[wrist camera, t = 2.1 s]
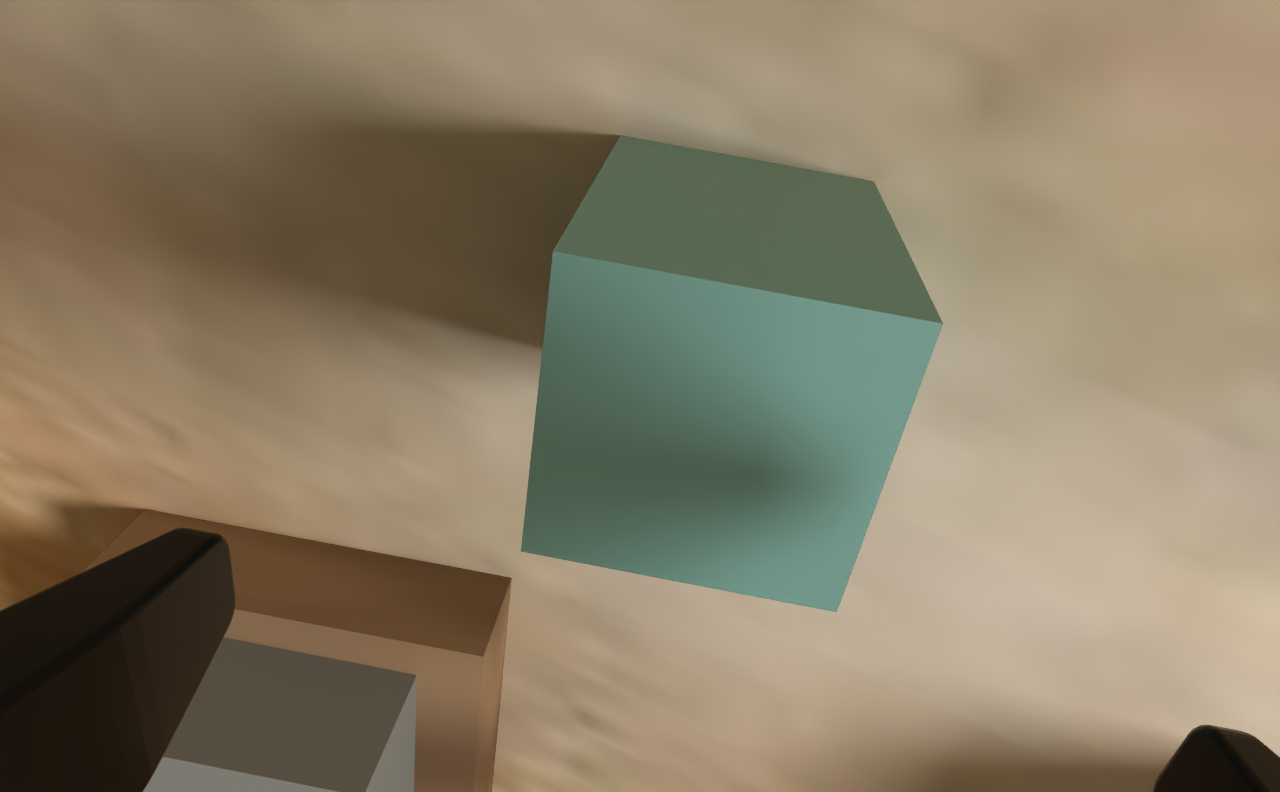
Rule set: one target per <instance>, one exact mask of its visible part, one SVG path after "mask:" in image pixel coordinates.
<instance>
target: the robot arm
mask: <svg viewBox="0 0 1280 792" xmlns="http://www.w3.org/2000/svg"><path fill="white" fill-rule="evenodd" d="M235 603H236V598H235V588H234V580H233V571H232V563H231V555H230V548H229V543H228V541H227V540H226V538H225V537H224V536H222V535H220V534H218V533H214V532H208V531H203V530H198V529H193V528H188V527H181V528H176V529H174V530H171V531H169V532H166V533H164V534H162V535H160V536H158V537H156V538H154V539H152V540H149V541H147V542H145V543H143V544H141V545H139V546H137V547H135V548H132V549H130V550H128V551H126V552H124V553H122V554H120V555H118V556H115V557H113V558H111V559H109V560H107V561H105V562H103V563H101V564H98V565H96V566H94V567H92V568H90V569H88V570H86V571H84V572H81V573H79V574H77V575H75V576H73V577H71V578H69V579H67V580H64V581H62V582H60V583H58V584H56V585H54V586H52V587H50V588H47V589H45V590H43V591H41V592H39V593H37V594H35V595H33V596H30V597H28V598H26V599H24V600H22V601H20V602H18V603H16V604H13V605H11V606H9V607H7V608H5V609H3V610H1V611H0V792H143V791H144V789H145V788H146V786H147V784H148V783H149V781H150V779H151V778H152V776H153V774H154V772H155V771H156V769H157V767H158V765H159V763H160V761H161V759H162V758H163V756H164V754H165V752H166V750H167V748H168V746H169V744H170V742H171V740H172V738H173V736H174V734H175V732H176V730H177V728H178V726H179V724H180V722H181V720H182V719H183V717H184V715H185V713H186V711H187V709H188V707H189V705H190V703H191V701H192V699H193V697H194V695H195V693H196V691H197V689H198V687H199V685H200V683H201V681H202V679H203V677H204V675H205V673H206V671H207V669H208V667H209V665H210V663H211V661H212V659H213V657H214V655H215V653H216V651H217V649H218V647H219V645H220V643H221V641H222V639H223V638H224V636H225V634H226V632H227V630H228V628H229V625H230V623H231V621H232V618H233V614H234V610H235ZM1153 792H1280V757H1279V756H1277V755H1276V754H1275V753H1274V752H1273V751H1271V750H1270V749H1269V748H1268V747H1267V746H1266V745H1264V744H1263V743H1262V742H1261V741H1260V740H1258V739H1257V738H1256V737H1254V736H1252V735H1250V734H1248V733H1245V732H1243V731H1238V730H1233V729H1228V728H1222V727H1217V726H1212V725H1201V726H1198V727H1196V728H1194V729H1193V730H1192V731H1191V732H1190V733H1189V734H1188V735H1187V737H1186V738H1185V740H1184V741H1183V742H1182V744H1181V745H1180V746H1179V748H1178V749H1177V751H1176V752H1175V753H1174V755H1173V756H1172V758H1171V759H1170V760H1169V762H1168V763H1167V764H1166V766H1165V767H1164V769H1163V770H1162V771H1161V773H1160V774H1159V776H1158V777H1157V779H1156V782H1155V785H1154V791H1153Z"/></svg>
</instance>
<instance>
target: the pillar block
mask: <svg viewBox="0 0 1280 792" xmlns="http://www.w3.org/2000/svg"><path fill="white" fill-rule="evenodd" d="M942 325H943V323H942V321H941V319H940V317H939V315H938V312H937V310H936V308H935V306H934V304H933V302H932V300H931V298H930V296H929V294H928V292H927V290H926V288H925V286H924V284H923V282H922V280H921V277H920V275H919V273H918V271H917V269H916V267H915V265H914V263H913V261H912V259H911V257H910V255H909V253H908V251H907V249H906V247H905V245H904V242H903V240H902V238H901V236H900V234H899V232H898V230H897V228H896V226H895V224H894V222H893V220H892V218H891V216H890V214H889V212H888V210H887V207H886V205H885V203H884V201H883V199H882V197H881V195H880V193H879V191H878V189H877V187H876V185H875V183H874V182H872V181H867V180H861V179H856V178H850V177H845V176H839V175H834V174H828V173H823V172H817V171H812V170H806V169H801V168H795V167H790V166H785V165H779V164H774V163H768V162H763V161H757V160H752V159H746V158H741V157H735V156H730V155H724V154H719V153H713V152H708V151H702V150H697V149H691V148H686V147H680V146H675V145H670V144H664V143H659V142H653V141H648V140H642V139H637V138H631V137H626V136H620V137H619V139H618V141H617V142H616V144H615V146H614V147H613V149H612V151H611V153H610V154H609V156H608V158H607V159H606V161H605V163H604V165H603V166H602V168H601V170H600V171H599V173H598V175H597V177H596V178H595V180H594V182H593V183H592V185H591V187H590V188H589V190H588V192H587V194H586V195H585V197H584V199H583V200H582V202H581V204H580V206H579V207H578V209H577V211H576V212H575V214H574V216H573V218H572V219H571V221H570V223H569V224H568V226H567V228H566V230H565V231H564V233H563V235H562V236H561V238H560V240H559V242H558V243H557V245H556V247H555V248H554V250H553V255H552V264H551V274H550V283H549V292H548V302H547V311H546V321H545V330H544V339H543V349H542V358H541V368H540V377H539V387H538V396H537V405H536V415H535V424H534V434H533V443H532V452H531V462H530V471H529V481H528V490H527V500H526V509H525V518H524V528H523V537H522V547H521V551H522V552H527V553H532V554H538V555H543V556H548V557H553V558H558V559H564V560H569V561H574V562H579V563H584V564H589V565H595V566H600V567H605V568H610V569H615V570H621V571H626V572H631V573H636V574H641V575H646V576H652V577H657V578H662V579H667V580H672V581H678V582H683V583H688V584H693V585H698V586H703V587H709V588H714V589H719V590H724V591H729V592H735V593H740V594H745V595H750V596H755V597H760V598H766V599H771V600H776V601H781V602H786V603H792V604H797V605H802V606H807V607H812V608H818V609H823V610H828V611H833V612H837V610H838V607H839V604H840V602H841V599H842V596H843V593H844V591H845V588H846V585H847V583H848V580H849V577H850V574H851V572H852V569H853V566H854V564H855V561H856V558H857V555H858V553H859V550H860V547H861V545H862V542H863V539H864V536H865V534H866V531H867V528H868V526H869V523H870V520H871V517H872V515H873V512H874V509H875V507H876V504H877V501H878V498H879V496H880V493H881V490H882V488H883V485H884V482H885V480H886V477H887V474H888V471H889V469H890V466H891V463H892V461H893V458H894V455H895V452H896V450H897V447H898V444H899V442H900V439H901V436H902V433H903V431H904V428H905V425H906V423H907V420H908V417H909V414H910V412H911V409H912V406H913V404H914V401H915V398H916V395H917V393H918V390H919V387H920V385H921V382H922V379H923V376H924V374H925V371H926V368H927V366H928V363H929V360H930V357H931V355H932V352H933V349H934V347H935V344H936V341H937V338H938V336H939V333H940V330H941V328H942Z"/></svg>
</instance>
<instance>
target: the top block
mask: <svg viewBox="0 0 1280 792" xmlns="http://www.w3.org/2000/svg"><path fill="white" fill-rule="evenodd" d="M416 686H417V675H414V674H409V673H404V672H399V671H393V670H388V669H383V668H378V667H373V666H368V665H363V664H358V663H352V662H347V661H342V660H337V659H332V658H327V657H322V656H316V655H311V654H306V653H301V652H296V651H291V650H286V649H281V648H275V647H270V646H265V645H260V644H255V643H250V642H245V641H240V640H234V639H229V638H223V639H222V641H221V643H220V645H219V647H218V649H217V651H216V653H215V655H214V657H213V659H212V661H211V663H210V665H209V667H208V669H207V671H206V673H205V675H204V677H203V679H202V681H201V683H200V685H199V687H198V689H197V691H196V693H195V695H194V697H193V699H192V701H191V703H190V705H189V707H188V709H187V711H186V713H185V715H184V717H183V719H182V720H181V722H180V724H179V726H178V728H177V730H176V732H175V734H174V736H173V738H172V740H171V742H170V744H169V746H168V748H167V750H166V752H165V754H164V756H163V758H162V759H161V761H160V763H159V765H158V767H157V769H156V771H155V772H154V774H153V776H152V778H151V779H150V781H149V783H148V784H147V786H146V788H145V789H144V791H143V792H414V768H415V727H416Z"/></svg>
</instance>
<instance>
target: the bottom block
mask: <svg viewBox="0 0 1280 792" xmlns="http://www.w3.org/2000/svg"><path fill="white" fill-rule="evenodd" d="M181 527H188V528H193V529H198V530H203V531H208V532H214V533H218V534H220V535H222V536H224V537H225V538H226V540H227V541H228V543H229V548H230V555H231V563H232V571H233V580H234V588H235V598H236V603H235V610H234V614H233V618H232V621H231V623H230V625H229V628H228V630H227V632H226V634H225V636H224V638H229V639H234V640H240V641H245V642H250V643H255V644H260V645H265V646H270V647H275V648H281V649H286V650H291V651H296V652H301V653H306V654H311V655H316V656H322V657H327V658H332V659H337V660H342V661H347V662H352V663H358V664H363V665H368V666H373V667H378V668H383V669H388V670H393V671H399V672H404V673H409V674H414V675H417V686H416V727H415V768H414V792H492V784H493V773H494V762H495V751H496V740H497V730H498V719H499V708H500V697H501V686H502V676H503V665H504V654H505V643H506V633H507V622H508V611H509V600H510V589H511V579H512V578H509V577H503V576H498V575H493V574H487V573H482V572H477V571H471V570H466V569H461V568H456V567H450V566H445V565H440V564H434V563H429V562H424V561H418V560H413V559H408V558H402V557H397V556H392V555H387V554H381V553H376V552H371V551H365V550H360V549H355V548H349V547H344V546H339V545H333V544H328V543H323V542H317V541H312V540H307V539H302V538H296V537H291V536H286V535H280V534H275V533H270V532H264V531H259V530H254V529H248V528H243V527H238V526H233V525H227V524H222V523H217V522H211V521H206V520H201V519H195V518H190V517H185V516H179V515H174V514H169V513H164V512H158V511H153V510H148V509H145V510H144V511H143V512H142V513H141V514H140V515H139V516H138V517H137V518H136V519H135V520H134V521H133V522H132V523H131V524H130V525H129V526H128V527H127V528H126V529H125V530H124V531H123V532H122V533H121V534H120V535H119V536H118V537H117V538H116V539H115V540H114V541H113V542H112V543H111V544H110V545H109V546H108V547H107V548H106V549H105V550H104V551H102V552H101V553H100V554H99V555H98V556H97V557H96V558H95V559H94V560H93V561H92V562H91V563H90V564H89V565H88V566H87V567H86V568H85V569H84V570H83V571H82V572H84V571H86V570H88V569H90V568H92V567H94V566H96V565H98V564H101V563H103V562H105V561H107V560H109V559H111V558H113V557H115V556H118V555H120V554H122V553H124V552H126V551H128V550H130V549H132V548H135V547H137V546H139V545H141V544H143V543H145V542H147V541H149V540H152V539H154V538H156V537H158V536H160V535H162V534H164V533H166V532H169V531H171V530H174V529H176V528H181Z"/></svg>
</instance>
